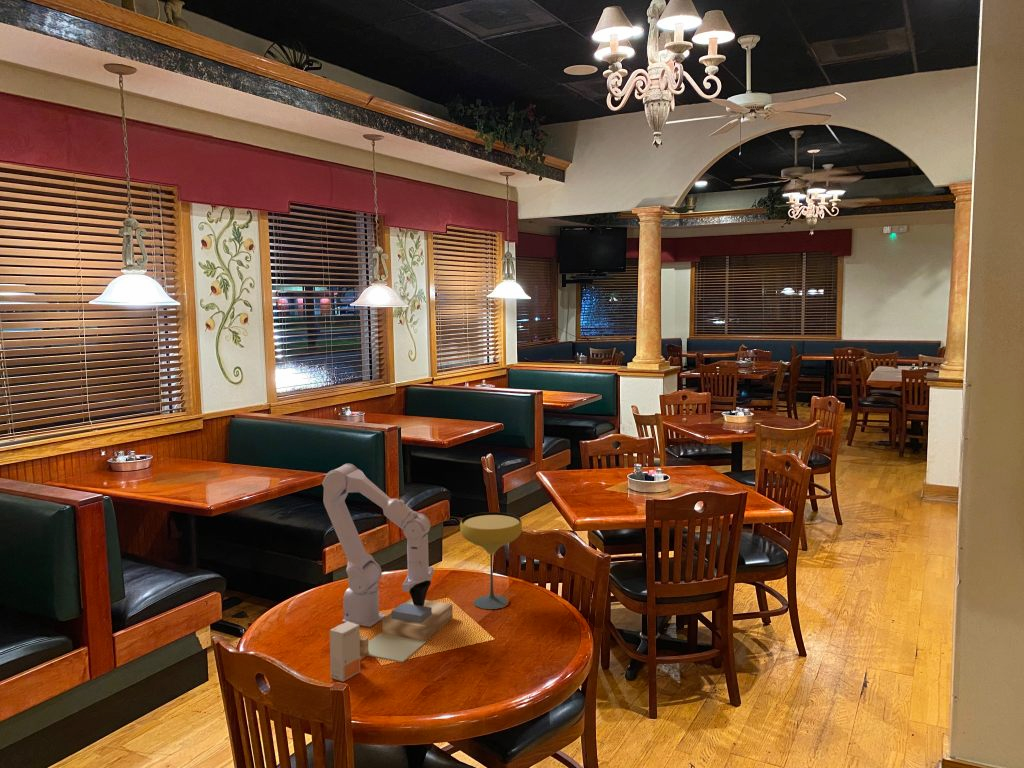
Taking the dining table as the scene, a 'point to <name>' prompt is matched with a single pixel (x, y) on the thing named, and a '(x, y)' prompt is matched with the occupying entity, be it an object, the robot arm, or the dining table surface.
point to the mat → (393, 647)
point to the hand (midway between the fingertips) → (418, 607)
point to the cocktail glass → (491, 543)
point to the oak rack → (363, 647)
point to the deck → (419, 630)
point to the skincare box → (345, 651)
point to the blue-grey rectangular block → (411, 612)
